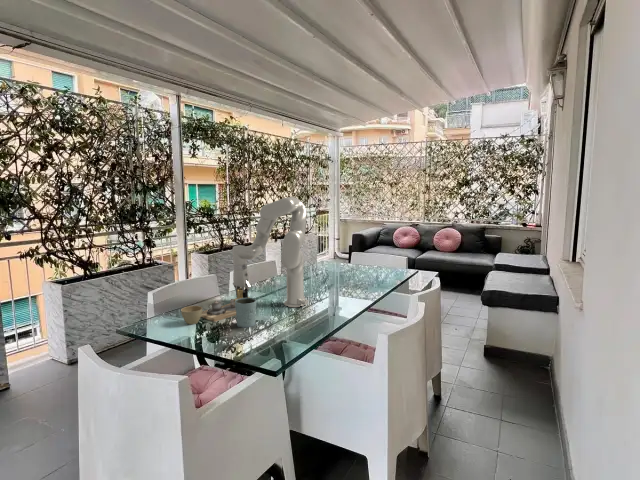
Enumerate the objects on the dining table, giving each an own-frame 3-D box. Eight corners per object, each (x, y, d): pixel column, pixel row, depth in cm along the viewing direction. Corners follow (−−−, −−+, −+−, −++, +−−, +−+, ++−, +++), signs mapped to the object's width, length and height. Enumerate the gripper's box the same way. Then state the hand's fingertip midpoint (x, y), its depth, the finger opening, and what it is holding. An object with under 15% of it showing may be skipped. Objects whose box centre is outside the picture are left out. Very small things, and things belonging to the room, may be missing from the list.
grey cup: (238, 320, 189) (237, 297, 187) (259, 320, 188) (258, 297, 187) (233, 328, 179) (232, 303, 177) (254, 328, 178) (254, 303, 177)
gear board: (253, 309, 207) (253, 296, 206) (214, 321, 188) (213, 307, 187) (236, 304, 216) (236, 291, 215) (197, 315, 197) (196, 302, 197)
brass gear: (254, 300, 221) (253, 288, 220) (240, 304, 214) (240, 292, 213) (243, 297, 227) (243, 286, 226) (230, 301, 220) (229, 289, 219)
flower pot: (183, 327, 180) (182, 313, 179) (180, 321, 189) (179, 307, 188) (204, 324, 185) (204, 309, 184) (201, 318, 194) (200, 304, 193)
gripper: (255, 267, 215) (256, 298, 218) (236, 264, 226) (238, 294, 229) (244, 269, 210) (246, 301, 212) (225, 266, 221) (227, 297, 223)
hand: (242, 297), depth 220 cm, fingers closed on brass gear, 5 cm apart
